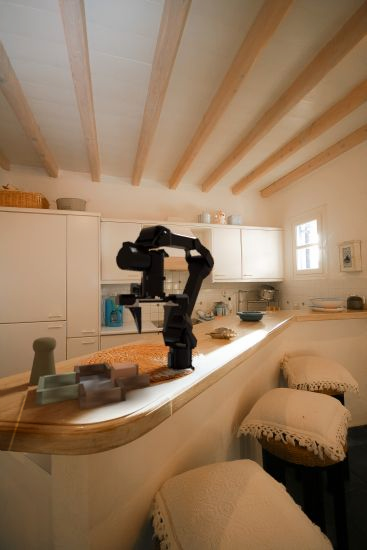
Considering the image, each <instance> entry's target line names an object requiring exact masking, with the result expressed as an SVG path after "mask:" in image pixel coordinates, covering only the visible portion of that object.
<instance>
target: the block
mask: <svg viewBox="0 0 367 550" xmlns="http://www.w3.org/2000/svg"><path fill="white" fill-rule="evenodd" d="M110 366H111V382H112V383H113V385H114V379H115V378H122V377H128V376H135V375H136V366H135V365H134V363H133V362H132V361H126V362H117V363H111V364H110Z"/></svg>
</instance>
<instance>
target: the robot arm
mask: <svg viewBox="0 0 367 550" xmlns="http://www.w3.org/2000/svg"><path fill="white" fill-rule="evenodd" d="M121 244H122V245H121V247H120V248H119V250H118V251H117V254H116V256H115V263H116V266H117V267H118V269H120V270H121V271H129V272H139V273H141V274H142V275H141V278H140V283H138V282H131V283H130V285H129V293H117V294H116V295H115V297H114V305H115V306H120V307H123V306H124V309H128V310H129V311H130V313H131V316H132V317H133V321H134V323H135V324H134V325H135V327H136V330H137V333H138V334H139V335H141V334H142V330H143V329H142V328H143V327H142V326H143V325H142V324H143V323H142V319H143V318H142V316H143V315H142V306H140V304H159V303H160V304H161V303H165V304H163V305H162V307H163V322H162V323H163V324H162V330H161V335H162V339H163V343H164V347H168V352H167V364H166V366H167V367H168V368H169V369H172V370H173V371H183V370H188V369H189V370H194V369H195V368H196V367H195V366H194V365H193V350H195V348H197V345H198V339H197V337H196V336H195V334H194V333H193V328H194V326H193V322H192V315H193V311H194V309H195V306H196V304H197V300H198V296H199V294H200V291H201V288H202V284H203V282H204V280H205V279H206V278H207V277H208V276H210V275H211V273H212V270H213V268H214V266H215V260H214V256H213V255H212V253H211V251H210V250H209V249H208V248H207V247H206V246H205V245H203V244H202V242H201V240H200V238H198V237H192V236H191V237H190V236H187V235H184V234H183V235H182V234H178V233H174V232H172V231H171V229H170V228H168V227H167V226H164V225H162V224H157V225H153V226H148V227H147V226H146V227H143V228H141V230H140V231H139V234H138V236H137V238H136V240H134V242H133V241H129V240H128V241H123V242H122V243H121ZM163 247H164V248H163ZM165 248H171V249H177V250H184V253H185V254H184V255H185V256H184V260H185V262H186V263H187V270H188V273H189V275H188V277H187V280H186V283H185V286H184V288H183V292H182V293H168V295H166V292H165V281H167V278H166V276H165V259H166V258H170V254H169V253H168V252H167V251H166V250H165ZM191 251H196V252H197V253H198V254H197V255H192V254H191ZM156 297H157V298H156Z"/></svg>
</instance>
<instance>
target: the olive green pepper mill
mask: <svg viewBox="0 0 367 550" xmlns="http://www.w3.org/2000/svg"><path fill="white" fill-rule="evenodd" d="M56 347H57V341H56V339H55V338H54V337H51V336H49V337H48V336H46V337H45V336H44V337H39V338H36V339H34V341H33V342H32V350H33V351H34V356H33V360H32V366H31V372H30V376H29V382H28V386H29V387H31V385H36V386H38V383H39V378H40V376H47V375H55V374H57V371H56V363H55V361H56V360H55V353H54V351H55V349H56Z"/></svg>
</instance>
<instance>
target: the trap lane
mask: <svg viewBox="0 0 367 550" xmlns="http://www.w3.org/2000/svg"><path fill="white" fill-rule="evenodd" d="M133 364H134V363H133ZM134 365H135V366H136V375H135V376H128V377H122V378H115V379H114V385H113V383H112V382H111V364H110V363H109V361H105V362H96V363H90V364H89V363H88V364H80V365H78V364H77V365H74V366H73V371H71V372H65V373H56V374H55V375H47V376H40V378H39V383H38V385H37V387H36V393H35V407H36V406H42V405H48V404H54V403H59V402H65V401H70V400H75V399H78V400H77V401H78V406H79V410H84V409H90V408H95V407H99V406H105V405H109V404H110V405H111V404H114V403H115V404H116V403H120V402H126V399H127V398H126V395H127V394H126V393H127V390H133V389H139V388H145V387H146V388H147V387H151V386H150V385H151V384H150V383H151V382H150V381H151V380H150V378H151V377H150V376H151V375H150V374H149V373H143V374H139V371H140V369H139V367H140V366H139V364H138V363H135V364H134Z"/></svg>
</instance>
